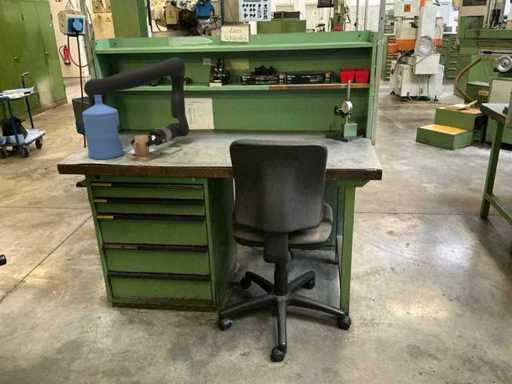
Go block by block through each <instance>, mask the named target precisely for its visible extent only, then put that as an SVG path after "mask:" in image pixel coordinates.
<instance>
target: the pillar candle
mask: <svg viewBox="0 0 512 384" xmlns="http://www.w3.org/2000/svg"><path fill="white" fill-rule="evenodd" d="M148 135H149V134H138V135H134V137H133V138H134V139H135V142H134V143H133V145H132V146H133V152H134V153H133V154H136V155H137V157H148V156H150V152H151V151H150V146H149V147H148V146H147V145H146V142H147V141H148Z"/></svg>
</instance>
